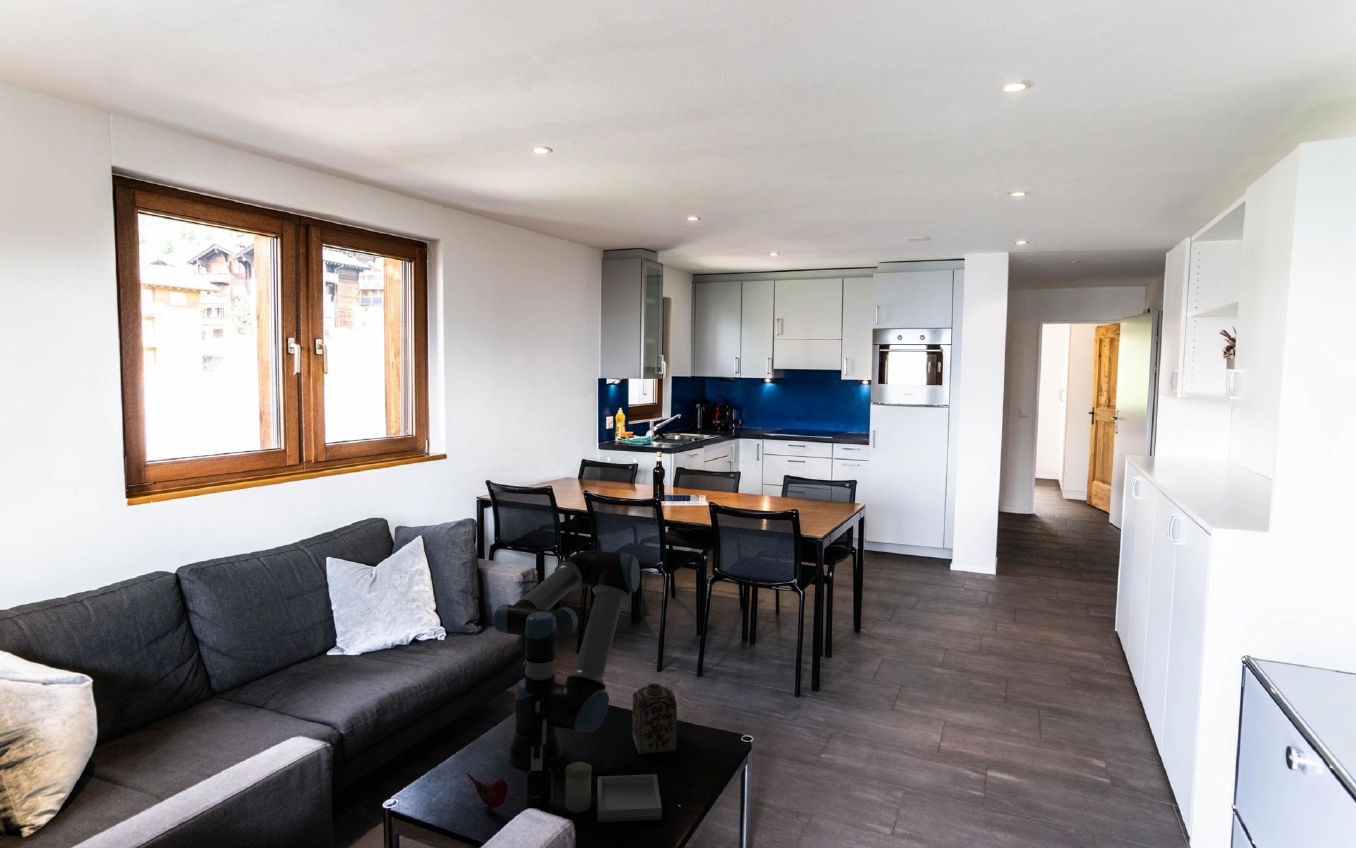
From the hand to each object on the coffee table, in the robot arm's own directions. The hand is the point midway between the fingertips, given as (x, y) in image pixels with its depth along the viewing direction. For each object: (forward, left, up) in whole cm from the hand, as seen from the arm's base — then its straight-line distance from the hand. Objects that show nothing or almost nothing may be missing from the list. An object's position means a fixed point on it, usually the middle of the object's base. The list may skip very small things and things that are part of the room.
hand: (538, 756), depth 190 cm
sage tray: (0, +23, -14) cm, 27 cm away
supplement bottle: (0, 0, -14) cm, 14 cm away
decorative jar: (-31, +32, -14) cm, 47 cm away
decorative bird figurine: (0, -13, -14) cm, 19 cm away
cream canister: (0, +10, -14) cm, 17 cm away
